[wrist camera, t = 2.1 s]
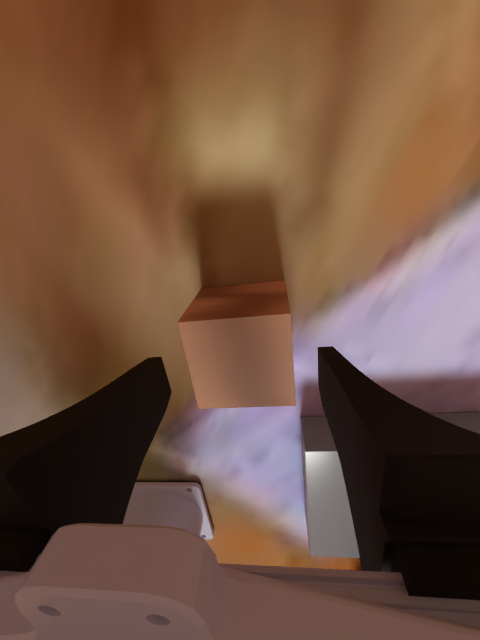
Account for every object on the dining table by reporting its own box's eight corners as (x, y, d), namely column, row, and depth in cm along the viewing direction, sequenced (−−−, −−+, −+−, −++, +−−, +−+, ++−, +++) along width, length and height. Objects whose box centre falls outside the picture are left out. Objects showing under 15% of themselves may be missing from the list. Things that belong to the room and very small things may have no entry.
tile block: (305, 516, 25) (310, 555, 22) (300, 416, 20) (305, 451, 18) (449, 519, 23) (472, 562, 21) (481, 411, 19) (517, 449, 16)
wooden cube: (215, 356, 19) (198, 408, 14) (201, 287, 17) (177, 322, 12) (289, 352, 18) (295, 405, 14) (284, 279, 16) (290, 313, 12)
